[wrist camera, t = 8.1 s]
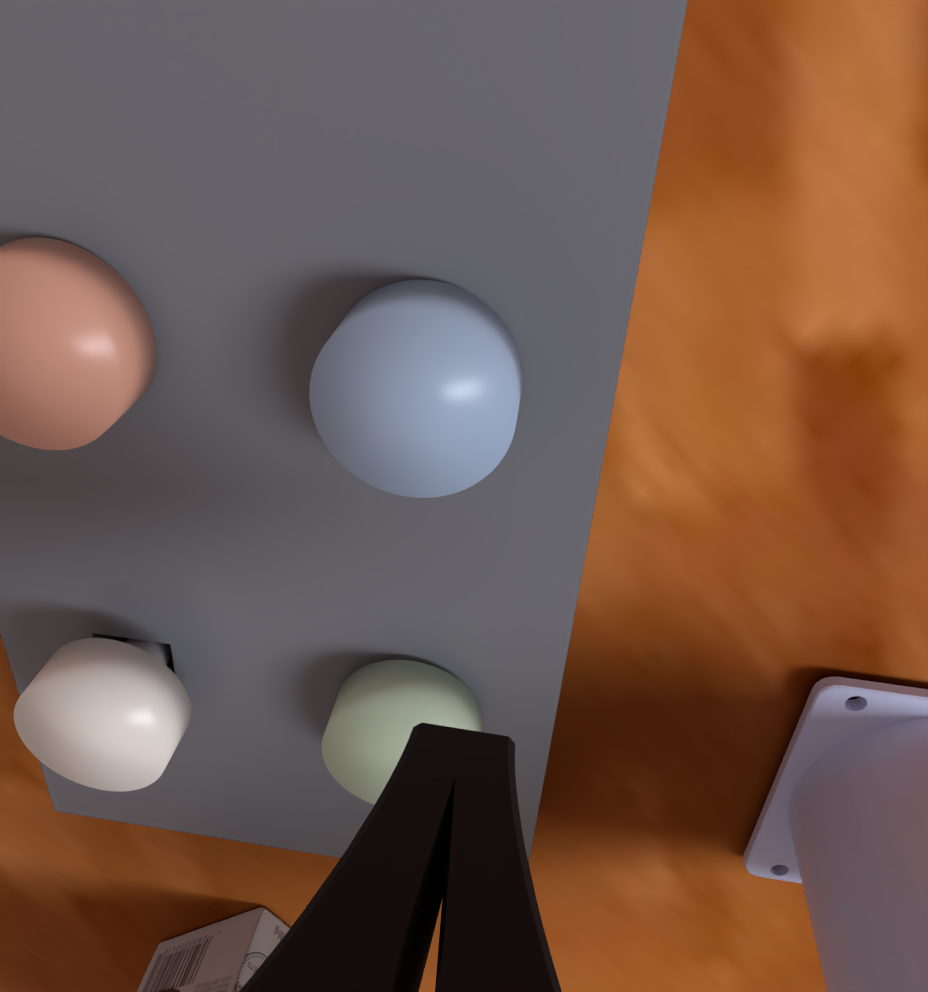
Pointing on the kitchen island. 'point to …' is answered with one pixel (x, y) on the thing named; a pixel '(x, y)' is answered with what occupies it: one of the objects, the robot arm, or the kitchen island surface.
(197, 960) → the coffee box
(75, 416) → the terracotta button
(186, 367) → the button panel
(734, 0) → the kitchen island surface
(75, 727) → the cream button
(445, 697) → the sage button
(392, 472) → the slate button
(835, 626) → the kitchen island surface
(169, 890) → the kitchen island surface
